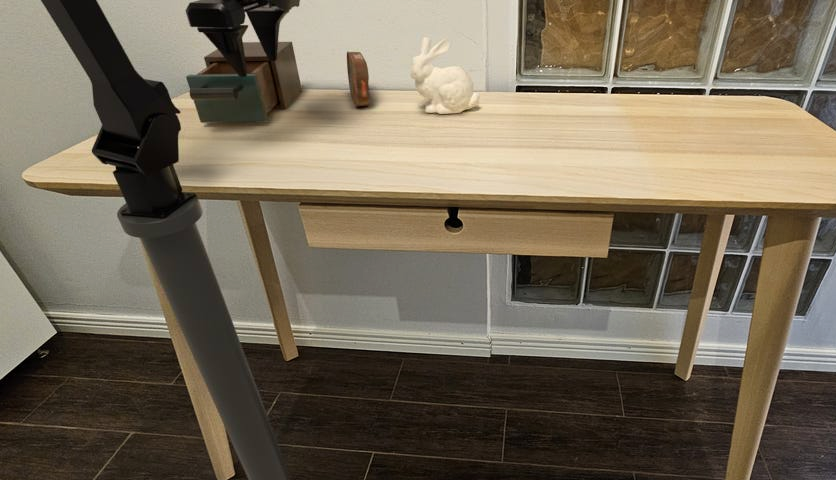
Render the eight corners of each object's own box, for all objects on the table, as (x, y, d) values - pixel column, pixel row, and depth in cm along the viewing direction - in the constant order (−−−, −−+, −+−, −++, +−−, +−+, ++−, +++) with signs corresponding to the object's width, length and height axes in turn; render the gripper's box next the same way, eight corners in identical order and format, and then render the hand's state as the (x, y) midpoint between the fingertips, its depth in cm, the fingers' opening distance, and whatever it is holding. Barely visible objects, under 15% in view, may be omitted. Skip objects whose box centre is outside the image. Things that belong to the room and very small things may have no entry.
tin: (349, 90, 110) (342, 46, 106) (364, 88, 111) (358, 45, 106) (357, 113, 99) (350, 65, 94) (374, 111, 99) (368, 64, 95)
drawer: (256, 131, 89) (244, 83, 85) (188, 132, 89) (172, 84, 85) (283, 102, 101) (273, 59, 97) (223, 103, 101) (211, 60, 97)
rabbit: (411, 115, 97) (405, 45, 90) (421, 99, 105) (416, 33, 98) (477, 116, 96) (476, 45, 89) (482, 100, 104) (482, 34, 97)
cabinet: (285, 109, 101) (273, 56, 95) (219, 110, 101) (203, 57, 95) (302, 91, 110) (292, 41, 105) (241, 91, 110) (228, 42, 105)
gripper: (251, -48, 63) (281, 88, 72) (315, -58, 78) (333, 55, 87) (165, -48, 64) (204, 85, 73) (244, -58, 79) (268, 53, 88)
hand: (258, 68), depth 80 cm, fingers open, 9 cm apart
